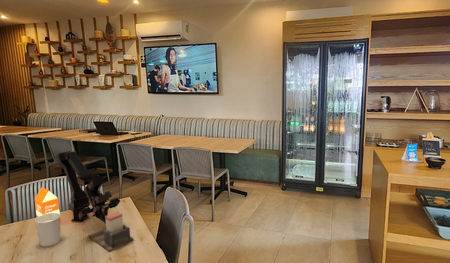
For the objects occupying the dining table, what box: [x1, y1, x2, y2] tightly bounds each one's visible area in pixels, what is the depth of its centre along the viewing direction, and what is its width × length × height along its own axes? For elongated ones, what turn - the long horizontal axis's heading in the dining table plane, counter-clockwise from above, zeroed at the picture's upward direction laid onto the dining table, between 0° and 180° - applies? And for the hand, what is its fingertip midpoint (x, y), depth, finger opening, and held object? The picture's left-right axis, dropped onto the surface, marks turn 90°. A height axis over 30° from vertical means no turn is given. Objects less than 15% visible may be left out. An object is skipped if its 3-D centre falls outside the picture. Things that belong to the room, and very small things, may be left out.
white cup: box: [34, 213, 62, 247], centre depth 130 cm, size 10×10×12 cm
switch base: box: [88, 224, 134, 253], centre depth 132 cm, size 19×12×7 cm, turn 51°
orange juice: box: [34, 186, 62, 226], centre depth 144 cm, size 8×9×20 cm
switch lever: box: [105, 211, 124, 234], centre depth 129 cm, size 4×6×12 cm
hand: (107, 223), depth 133 cm, fingers closed
